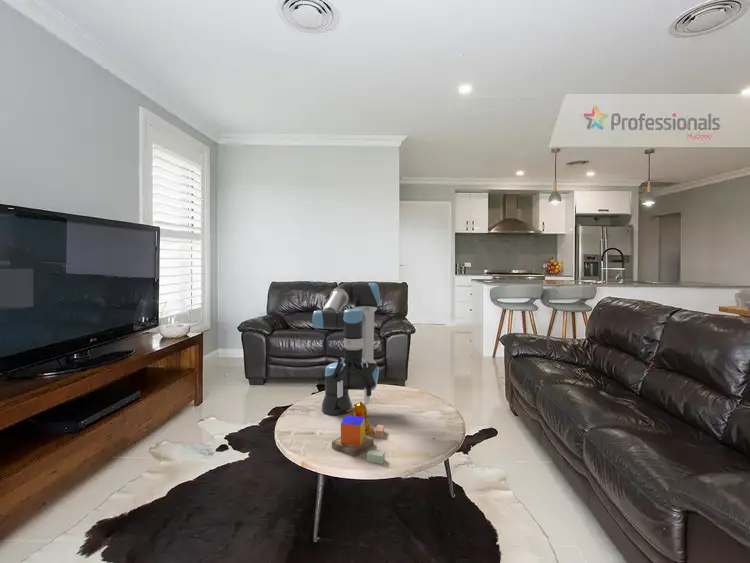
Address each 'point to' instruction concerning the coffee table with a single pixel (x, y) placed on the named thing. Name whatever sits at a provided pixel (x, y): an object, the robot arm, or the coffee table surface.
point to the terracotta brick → (379, 431)
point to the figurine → (362, 415)
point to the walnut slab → (353, 446)
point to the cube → (352, 430)
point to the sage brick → (375, 456)
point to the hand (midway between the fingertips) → (353, 400)
